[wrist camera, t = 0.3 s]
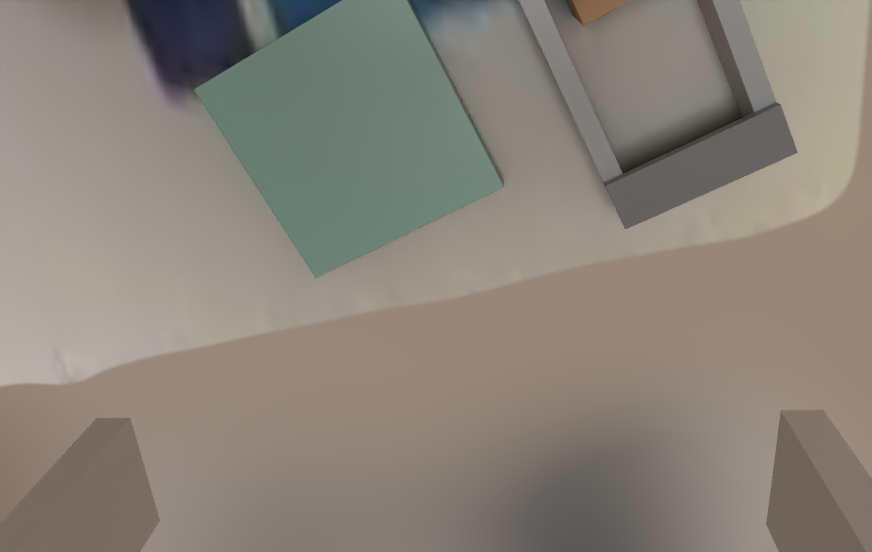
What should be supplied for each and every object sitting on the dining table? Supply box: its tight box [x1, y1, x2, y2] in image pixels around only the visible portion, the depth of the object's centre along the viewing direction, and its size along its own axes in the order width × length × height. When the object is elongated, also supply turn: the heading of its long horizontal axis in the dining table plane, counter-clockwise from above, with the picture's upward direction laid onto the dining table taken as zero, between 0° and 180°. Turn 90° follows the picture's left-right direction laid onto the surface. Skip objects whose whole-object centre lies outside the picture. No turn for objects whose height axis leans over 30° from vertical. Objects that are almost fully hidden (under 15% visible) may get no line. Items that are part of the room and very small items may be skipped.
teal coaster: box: [194, 0, 504, 278], centre depth 38 cm, size 12×12×1 cm
